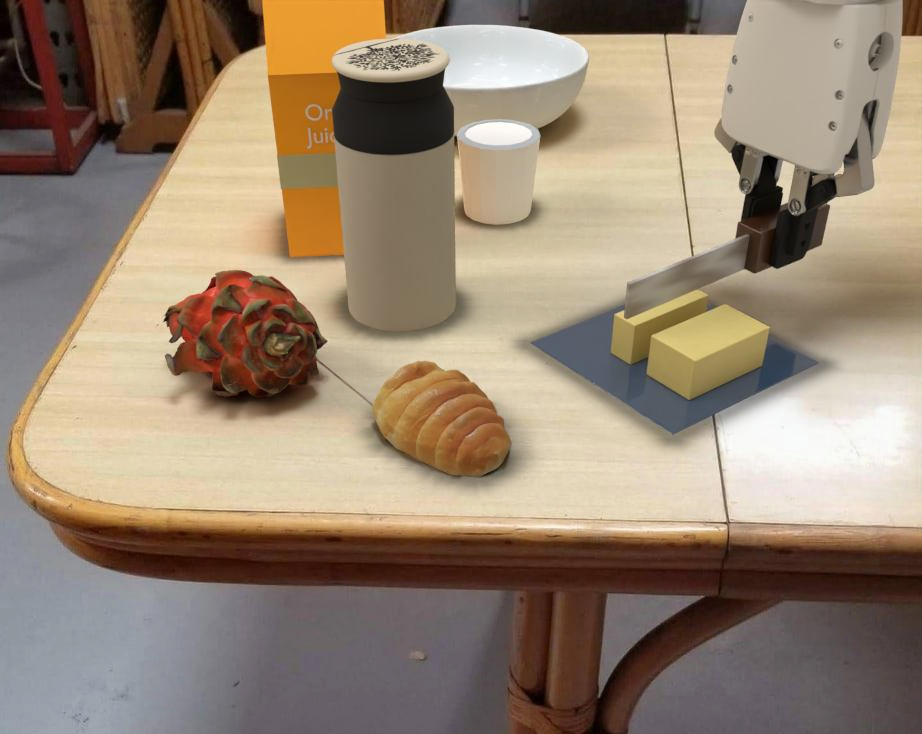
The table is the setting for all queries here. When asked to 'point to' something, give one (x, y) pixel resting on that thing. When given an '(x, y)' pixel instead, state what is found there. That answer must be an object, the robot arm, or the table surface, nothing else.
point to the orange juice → (311, 109)
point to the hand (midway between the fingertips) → (770, 252)
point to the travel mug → (396, 182)
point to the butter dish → (631, 385)
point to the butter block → (707, 351)
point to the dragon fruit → (245, 335)
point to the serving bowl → (508, 72)
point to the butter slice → (652, 325)
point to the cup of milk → (498, 169)
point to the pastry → (441, 420)
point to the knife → (715, 262)
